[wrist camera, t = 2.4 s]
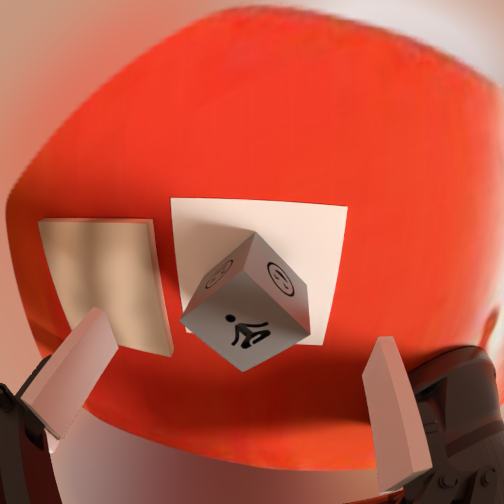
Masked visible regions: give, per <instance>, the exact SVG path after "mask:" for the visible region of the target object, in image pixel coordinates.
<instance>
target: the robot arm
mask: <svg viewBox="0 0 504 504" xmlns="http://www.w3.org/2000/svg"><path fill="white" fill-rule="evenodd" d="M117 350H118V345H117V343H116V340H115V337H114V335H113V332H112V329H111V327H110V324H109V321H108V318H107V315H106V312H105V310H104V309H100V308H96V307H93V308H92V309H91V310H90V311H89V313H88V314H87V315H86V316H85V317H84V318H83V319H82V320H81V322H80V323H79V324H78V325H77V326H76V327H75V329H74V330H73V331H72V332H71V333H70V334H69V336H68V337H67V338H66V339H65V340H64V342H63V343H62V344H61V345H60V347H59V348H58V349H57V350H56V351H55V353H54V354H53V355H49V356H47V357H46V358H44V359H43V360H42V361H41V362H40V363H39V365H38V366H37V368H36V369H35V370H34V371H33V372H32V375H30V376H29V378H28V379H27V380H26V382H25V383H24V384H23V386H22V387H21V388H20V390H19V391H18V392H17V394H16V395H15V396H14V395H13V394H12V393H11V391H10V390H9V389H8V388H7V386H6V385H5V384H3V383H0V504H62V501H61V498H60V494H59V491H58V487H57V484H56V480H55V476H54V472H53V467H52V463H51V458H50V453H49V447H48V441H47V434H46V431H45V430H44V428H45V427H47V428H48V429H49V430H50V431H51V432H52V433H53V434H55V435H57V436H58V437H60V438H62V439H63V438H64V437H65V435H66V433H67V431H68V430H69V428H70V426H71V424H72V423H73V421H74V419H75V417H76V416H77V414H78V412H79V411H80V409H81V407H82V406H83V404H84V402H85V400H86V399H87V397H88V396H89V394H90V392H91V391H92V389H93V387H94V386H95V384H96V382H97V381H98V379H99V378H100V376H101V374H102V373H103V371H104V370H105V368H106V367H107V365H108V363H109V362H110V360H111V359H112V357H113V356H114V354H115V353H116V351H117ZM362 379H363V384H364V389H365V394H366V399H367V405H368V410H369V416H370V422H371V428H372V435H373V442H374V449H375V457H376V466H377V475H378V485H379V494H383V493H388V492H392V491H396V490H398V489H400V488H402V487H403V490H401V491H398V492H395V493H391V494H388V495H383V496H379V497H375V498H371V499H366V500H361V501H356V502H350V503H345V504H504V423H503V420H502V417H501V414H500V405H499V396H498V390H497V384H496V371H495V367H494V365H493V363H492V361H491V359H490V358H489V356H488V354H487V353H486V352H485V351H484V350H483V349H481V348H478V347H466V348H461V349H457V350H454V351H451V352H448V353H446V354H443V355H441V356H439V357H437V358H435V359H433V360H431V361H429V362H427V363H425V364H424V365H422V366H420V367H419V368H417V369H416V370H414V371H413V372H411V373H410V374H408V375H407V373H406V370H405V367H404V364H403V361H402V359H401V356H400V353H399V351H398V348H397V345H396V343H395V340H394V338H393V336H379V337H378V338H377V341H376V343H375V346H374V348H373V351H372V353H371V356H370V358H369V360H368V363H367V365H366V367H365V369H364V372H363V374H362Z"/></svg>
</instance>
